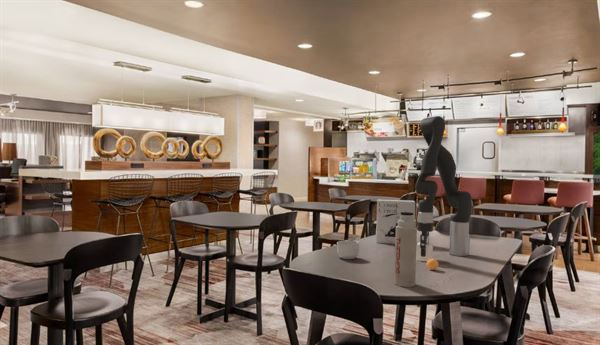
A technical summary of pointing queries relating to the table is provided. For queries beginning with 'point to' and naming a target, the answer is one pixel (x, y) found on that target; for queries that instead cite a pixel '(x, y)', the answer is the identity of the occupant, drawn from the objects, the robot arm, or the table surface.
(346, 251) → the teacup
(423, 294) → the table surface
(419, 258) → the cream colored box
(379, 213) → the cereal box
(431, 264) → the ball
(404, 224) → the thermos bottle
